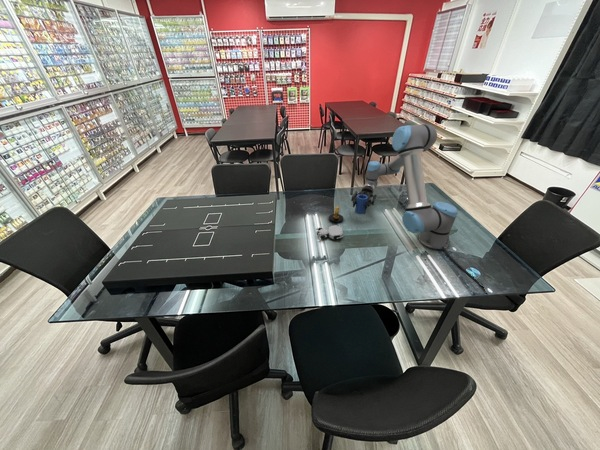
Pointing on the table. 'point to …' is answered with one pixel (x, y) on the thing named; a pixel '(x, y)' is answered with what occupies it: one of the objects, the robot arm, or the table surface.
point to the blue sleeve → (361, 204)
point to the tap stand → (336, 217)
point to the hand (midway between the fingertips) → (359, 206)
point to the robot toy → (330, 232)
